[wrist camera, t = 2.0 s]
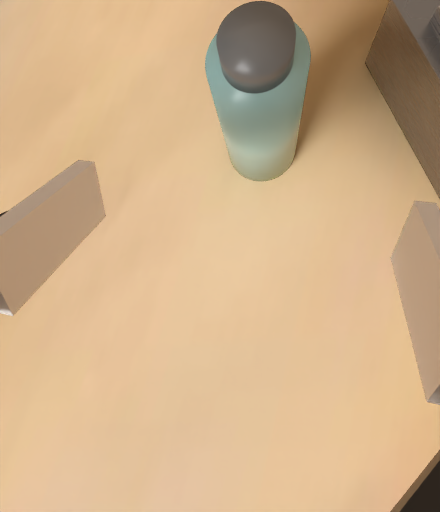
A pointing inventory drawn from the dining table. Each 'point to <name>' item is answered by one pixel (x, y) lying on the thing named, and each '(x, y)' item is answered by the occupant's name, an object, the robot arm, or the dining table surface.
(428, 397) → the robot arm
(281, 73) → the teal bottle
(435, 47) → the square hollow holder
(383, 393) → the dining table surface
